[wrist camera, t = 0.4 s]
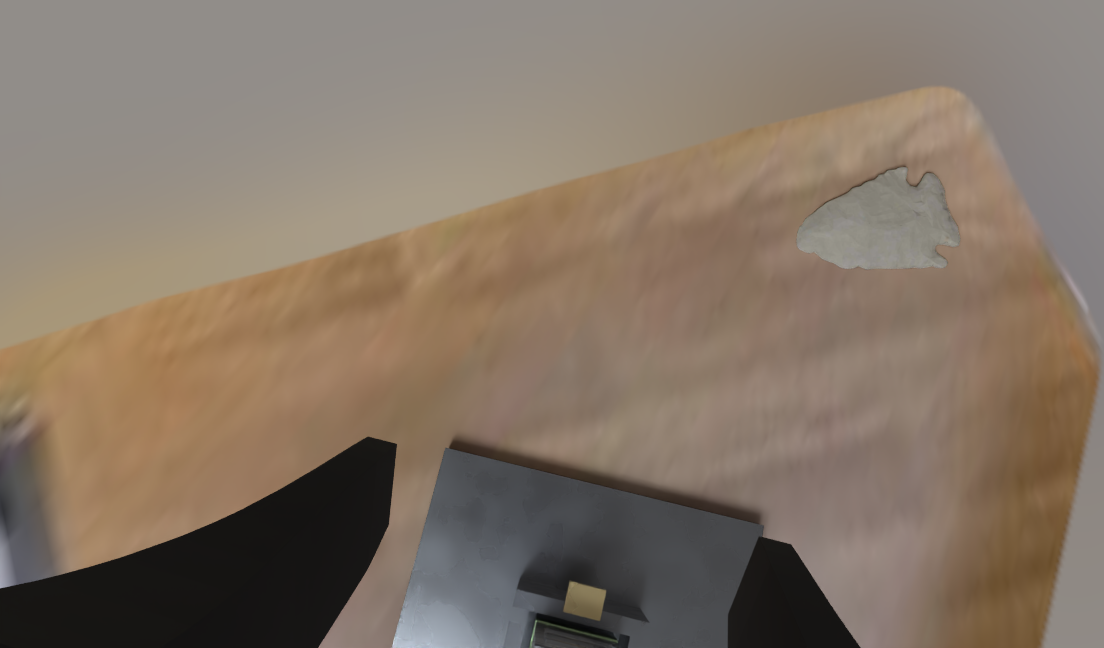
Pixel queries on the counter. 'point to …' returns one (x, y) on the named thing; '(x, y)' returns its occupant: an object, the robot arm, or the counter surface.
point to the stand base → (567, 562)
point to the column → (568, 634)
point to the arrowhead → (883, 225)
